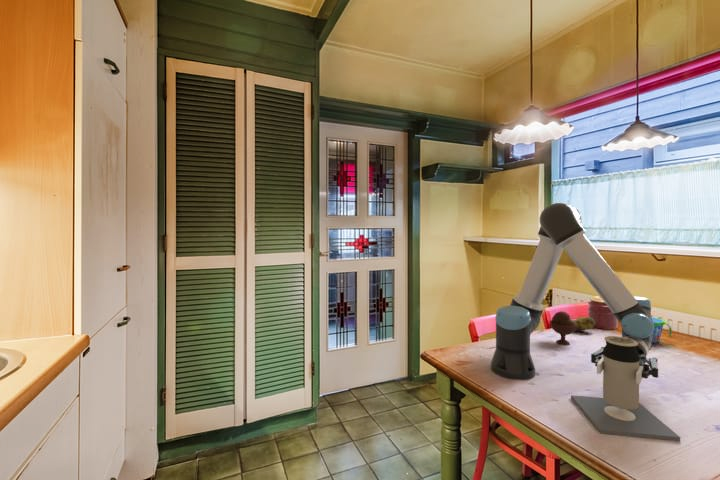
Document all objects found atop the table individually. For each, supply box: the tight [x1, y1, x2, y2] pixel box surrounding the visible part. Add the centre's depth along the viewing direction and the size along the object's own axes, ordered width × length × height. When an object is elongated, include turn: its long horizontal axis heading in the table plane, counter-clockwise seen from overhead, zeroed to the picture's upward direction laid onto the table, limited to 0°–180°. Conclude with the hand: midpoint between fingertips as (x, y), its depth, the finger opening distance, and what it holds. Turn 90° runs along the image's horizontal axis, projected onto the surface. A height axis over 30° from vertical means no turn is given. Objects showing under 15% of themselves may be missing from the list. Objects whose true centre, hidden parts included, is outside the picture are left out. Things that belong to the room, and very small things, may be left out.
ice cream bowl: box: [549, 310, 577, 346], centre depth 153 cm, size 11×11×15 cm
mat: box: [570, 394, 681, 442], centre depth 94 cm, size 18×18×1 cm
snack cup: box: [651, 316, 673, 344], centre depth 155 cm, size 16×10×10 cm
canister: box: [587, 295, 619, 330], centre depth 178 cm, size 13×13×18 cm
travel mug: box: [602, 335, 640, 410], centre depth 94 cm, size 8×8×18 cm
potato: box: [571, 316, 595, 332], centre depth 170 cm, size 8×13×8 cm, turn 42°
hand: (617, 373), depth 90 cm, fingers closed on travel mug, 8 cm apart
